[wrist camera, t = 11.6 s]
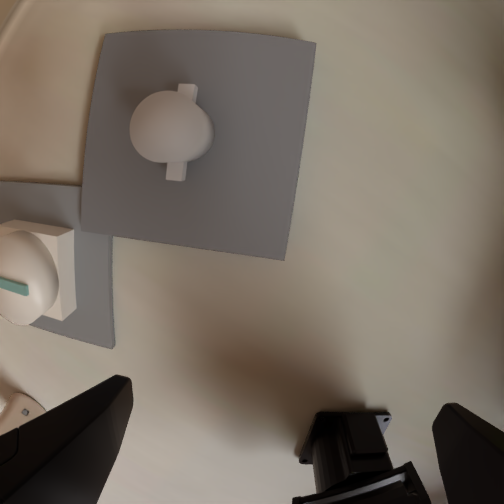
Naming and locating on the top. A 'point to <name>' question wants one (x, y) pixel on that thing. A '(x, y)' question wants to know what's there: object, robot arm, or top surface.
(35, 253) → the cream domed square block
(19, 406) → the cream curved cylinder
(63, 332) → the mat
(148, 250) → the top surface
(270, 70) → the plinth
